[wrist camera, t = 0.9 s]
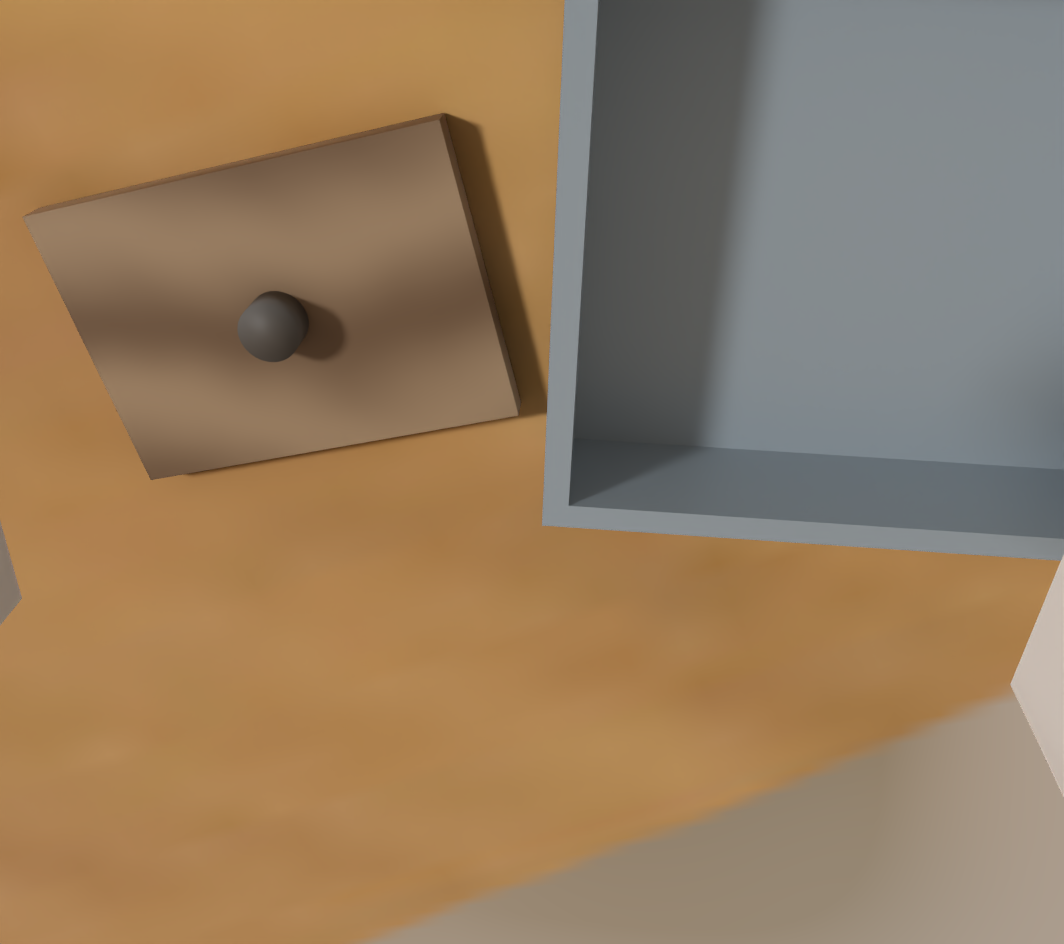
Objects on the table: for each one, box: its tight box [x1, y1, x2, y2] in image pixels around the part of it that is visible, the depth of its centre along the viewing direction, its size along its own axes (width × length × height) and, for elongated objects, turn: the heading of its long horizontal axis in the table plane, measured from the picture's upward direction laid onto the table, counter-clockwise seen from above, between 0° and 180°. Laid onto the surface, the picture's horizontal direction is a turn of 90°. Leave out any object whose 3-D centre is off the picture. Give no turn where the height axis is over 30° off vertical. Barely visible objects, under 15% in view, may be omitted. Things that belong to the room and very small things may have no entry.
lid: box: [23, 113, 521, 480], centre depth 33 cm, size 10×14×2 cm
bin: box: [542, 0, 1064, 561], centre depth 29 cm, size 18×20×5 cm
